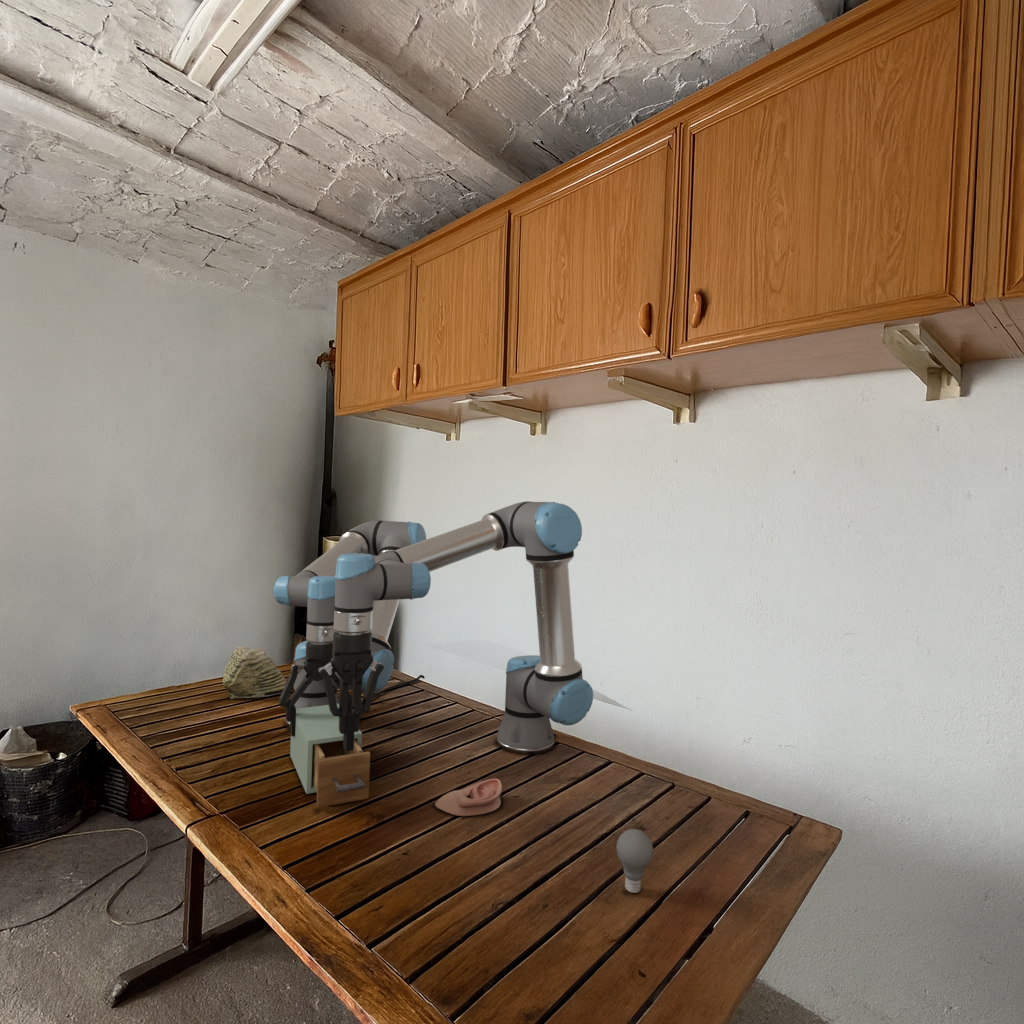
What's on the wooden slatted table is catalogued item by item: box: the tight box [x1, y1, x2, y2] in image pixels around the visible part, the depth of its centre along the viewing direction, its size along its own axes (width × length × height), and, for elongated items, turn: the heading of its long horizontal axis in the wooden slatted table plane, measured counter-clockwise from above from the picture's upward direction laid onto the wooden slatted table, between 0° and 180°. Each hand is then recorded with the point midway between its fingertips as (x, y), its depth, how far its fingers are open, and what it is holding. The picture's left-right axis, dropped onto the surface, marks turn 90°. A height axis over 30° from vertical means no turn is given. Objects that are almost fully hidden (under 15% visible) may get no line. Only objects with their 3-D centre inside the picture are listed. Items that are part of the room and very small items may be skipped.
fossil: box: [222, 646, 287, 699], centre depth 198 cm, size 9×18×15 cm, turn 132°
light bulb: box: [615, 828, 654, 894], centre depth 106 cm, size 6×6×10 cm
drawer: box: [311, 739, 371, 808], centre depth 136 cm, size 26×10×10 cm, turn 28°
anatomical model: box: [434, 778, 503, 817], centre depth 133 cm, size 13×4×12 cm
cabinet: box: [289, 704, 363, 795], centre depth 147 cm, size 22×12×12 cm, turn 28°
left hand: (319, 731), depth 152 cm, fingers closed on cabinet, 12 cm apart
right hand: (348, 748), depth 127 cm, fingers closed
